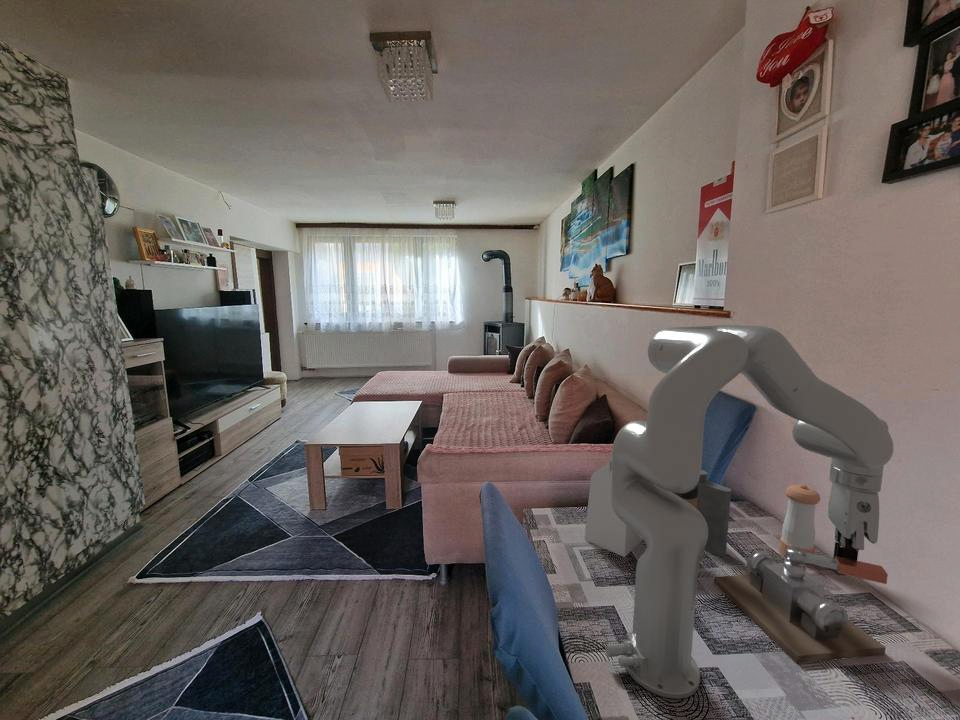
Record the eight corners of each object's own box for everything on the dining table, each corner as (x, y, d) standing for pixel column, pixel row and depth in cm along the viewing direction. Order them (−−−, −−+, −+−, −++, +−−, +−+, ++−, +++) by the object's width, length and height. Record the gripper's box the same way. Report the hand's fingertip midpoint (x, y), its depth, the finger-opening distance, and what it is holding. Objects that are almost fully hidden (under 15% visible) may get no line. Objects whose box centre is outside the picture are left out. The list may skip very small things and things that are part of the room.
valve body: (814, 644, 76) (820, 594, 75) (742, 580, 94) (746, 539, 92) (848, 641, 77) (854, 591, 75) (770, 578, 94) (774, 538, 93)
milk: (605, 523, 121) (609, 438, 118) (643, 538, 113) (649, 448, 110) (584, 539, 113) (588, 448, 110) (624, 557, 105) (630, 459, 102)
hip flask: (728, 553, 107) (735, 480, 104) (718, 558, 105) (725, 483, 102) (674, 525, 121) (679, 460, 118) (665, 528, 119) (669, 462, 116)
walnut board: (796, 663, 73) (797, 655, 73) (713, 582, 95) (714, 576, 95) (884, 654, 76) (885, 647, 75) (783, 577, 97) (784, 571, 97)
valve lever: (787, 563, 83) (788, 552, 83) (783, 555, 86) (785, 544, 86) (886, 587, 76) (888, 574, 76) (879, 577, 79) (881, 565, 79)
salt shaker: (815, 554, 107) (823, 484, 104) (812, 567, 101) (821, 493, 99) (780, 543, 112) (787, 476, 109) (776, 555, 106) (784, 484, 104)
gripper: (900, 496, 72) (887, 592, 75) (862, 467, 86) (852, 548, 88) (846, 489, 75) (835, 581, 78) (817, 461, 89) (809, 541, 91)
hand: (844, 564), depth 83 cm, fingers closed
